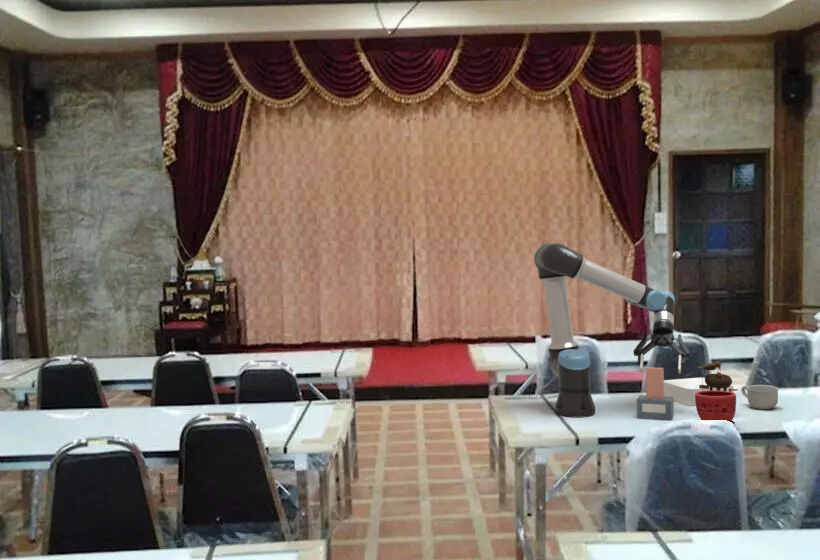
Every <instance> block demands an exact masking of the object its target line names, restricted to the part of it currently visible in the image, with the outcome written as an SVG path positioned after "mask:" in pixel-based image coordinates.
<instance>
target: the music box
mask: <svg viewBox="0 0 820 560" xmlns="http://www.w3.org/2000/svg"><path fill="white" fill-rule="evenodd" d="M696 367H697V369H702V372H701V373H704V371H705V370H706V371H707V374H706V376H705V377H704V378H705V383H706V384H707V385H703V382H702V385H699V388H702V391H703V389H709V387H710V391H713V388H717V391H720V389H721V388H724V391H726V389H727V388H728V387H730V386H731V385H733V379H732V378H731V377H730V375H728V374H725V373H724V374H722V372H721V371H722V370H721V367H722V363H721V361H718V360H716V361H715V362H709V363H706V364H704V365H702V366H701V365H700V366H696ZM717 368H718V369H719V371H716V373H710V371H714V370H717ZM731 390H732V391H733V392H734V391H738V390H739V389H737V388H735V389H734V388H733V389H730V388H729V392H731ZM716 405H717V404H716ZM702 406H703V404H702ZM706 407H707V406H706Z"/></svg>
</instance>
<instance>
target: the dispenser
mask: <svg viewBox="0 0 820 560" xmlns="http://www.w3.org/2000/svg"><path fill="white" fill-rule="evenodd" d="M674 415H675V414H674V401H673V397H668V396H664V398H649V397H646V394H642V395H641V394H639V395H638V397H637V398H636V418H637V419H643V420H644V419H645V420H659V421H660V420H661V421H672V420H673V418H674Z"/></svg>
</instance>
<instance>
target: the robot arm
mask: <svg viewBox="0 0 820 560" xmlns="http://www.w3.org/2000/svg"><path fill="white" fill-rule="evenodd" d="M533 256H534V257H533V261H534V265H535V268H537V272H538V273H537V274H538V280H539V281H541V282H542V283H543V290H544V294H545V295H544V297H545V304H546V310H547V318H548V319H547V320H548V325H549V326H548V327H549V331H550V332H549V333H550V334H549V335H550V340H551V343H550V344H549V346H548V347H547V348H548V354H549V356H548V361H547V362H548V363H547V364H548V367H549V370H550V371H551V373H552V374H553V375H554V376H555V377H556V378H558V395H557V399H556V402H555V405H554V414H556V413H557V414H556V415H558V414H560V415H559V416H561V415H565V416H564V417H568V416H586V417H590V416H589V415H592V416H593V414H594V415H596V406H595V402H594V400H593V397H592V394H591V358H590V357H591V355H590V354H589V353H588V352H587V351H585V350H580V348H579V344H578V342H576V341H575V340H574V333H573V326H572V319H571V312H570V305H569V297H568V289H567V279H568V277H569V278H571V279H576V278H577V279H579V280H582V281H584V282H586V283H589V284H591V285H593V286H595V287H598V288H600V289H602V290H604V291H607V292H610V293H611V294H614V295H616V296H619V297H621V298H623V299H625V301H626V303H628V304H631V305H632V306H636V307H637V308H642V309H643V310H647V311H650V312H652V313H653V323H652V324H653V326H652V333H651V335H649V334H647V333H643V337H642V339H641V340H640V341H639V343H638V344H637V345H636V347H635V348H634V349H633V355H634V357H637V364H639V370H640V373H643V371H644V360H645V359H644V358H645V357H644V356H645V355H646V354H647V353H649V352H650V351H651V350H652V349H654V348H656V347H669V348H670V349H672V351H673V352H674V353H676V354H677V355H678V367H677V368H678V369H677V370H678V374H680V375H681V374H682V366H684V365H685V361H686V358H687V359H688V358H689V359H690V357H691V352H690V351H689V348H688V347H687V345H686V344H685V342H684V341H683V339H682V334H681V333H679V334H678V335H674V323H675V320H674V319H675V307H676V297H675V296H674V294H673V292H671V291H669V290H658V289H654V288H651V287H649V286H646V285H645V284H643V283H640V282H637V281H636V280H633V279H631V278H629V277H626V276H625V275H622V274H620V273H617V272H615V271H613V270H611V269H609V268H606V267H604V266H601V265H600V264H597V263H595V262H592V261H590V260H588V259H586V257H585V255H583V254H581V253H579V252H577V251H575V250H574V249H571V248H570V247H568V246H566V245H565V244H562V243H557V242H555V243H554V242H548V243H544V244H542V245H540V247H538V248H537V250H536V251H535V253H534V255H533ZM649 340H650V341H649ZM674 340H675V341H676V342H678V345H679V347H678V345H676V344H675V343H674ZM647 342H648V343H647Z"/></svg>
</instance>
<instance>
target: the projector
mask: <svg viewBox="0 0 820 560" xmlns="http://www.w3.org/2000/svg"><path fill="white" fill-rule="evenodd" d="M702 382H703V385H707V384H706V383H705V377H692V378H691V377H690V378H675V379H664V396H668V397H673V402H674V401H675V403H677V402H678V403H677V404H680V405H683V406H687V407H696V402H695V393H696V392H700V391H702V388H699V385H702ZM729 388H730V389H734V384H731V386H730V387H728V388H727V389H726V391H728V392H729ZM703 391H710V387H709V389H703ZM713 391H717V388H713ZM720 391H724V388H721V389H720ZM731 392H733V393H734V391H732V390H731Z"/></svg>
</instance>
